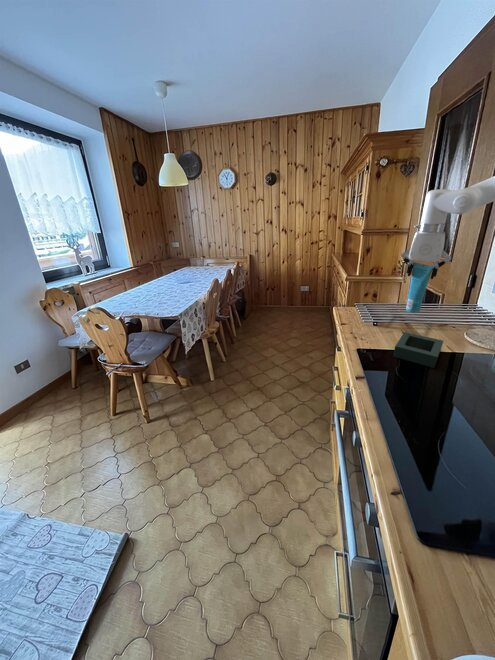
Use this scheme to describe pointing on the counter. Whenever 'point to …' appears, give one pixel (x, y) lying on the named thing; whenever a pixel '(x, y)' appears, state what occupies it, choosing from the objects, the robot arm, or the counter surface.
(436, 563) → the counter surface
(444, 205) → the robot arm
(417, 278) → the tube
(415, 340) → the dark green square tray
